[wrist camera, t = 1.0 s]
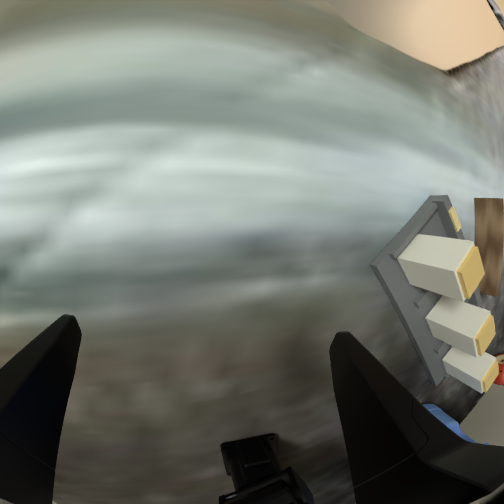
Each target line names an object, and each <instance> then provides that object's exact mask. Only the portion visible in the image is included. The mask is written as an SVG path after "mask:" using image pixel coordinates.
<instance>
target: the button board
mask: <svg viewBox="0 0 504 504" xmlns="http://www.w3.org/2000/svg"><path fill="white" fill-rule="evenodd" d="M416 234H423V235H431V236H439V237H447V238H454V239H461V240H465V239H464V236H463V233H462V230H461V224H460V222H459V219H458V216H457V214H456V211H455V208H454V207H452V204H451V202H450V199H449V197H448V195H439V196H429V198H428V199H427V200H426V201H425V202H424V204H423V205H422V206H421V207H420V208H419V210H418V211H417V212H416V213H415V214H414V216H413V217H412V218H411V219H410V220H409V221H408V223H407V224H406V225H405V226H404V227H403V228H402V229H401V231H400V232H399V233H398V234H397V235H396V236H395V237H394V238H393V240H392V241H391V242H390V243H389V244H388V245H387V246H386V247H385V248H384V249H383V251H382V252H381V253H380V254H379V255H378V256H377V257H376V258H375V259H374V260H373V261H372V262H371V263H370V266H371V268H372V269H373V271H374V273H375V274H376V276H377V278H378V279H379V281H380V283H381V285H382V286H383V288H384V290H385V292H386V294H387V295H388V297H389V299H390V301H391V303H392V304H393V306H394V308H395V310H396V312H397V314H398V315H399V317H400V319H401V321H402V323H403V325H404V327H405V329H406V331H407V333H408V335H409V337H410V339H411V341H412V343H413V345H414V347H415V349H416V351H417V353H418V355H419V357H420V359H421V361H422V363H423V366H424V368H425V370H426V372H427V374H428V377H429V379H430V381H431V383H432V384H433V385H434V386H436V387H437V386H438V385H439V383H440V382H441V381H442V380H443V379H444V377H445V378H446V379H449V377H450V376H451V375H450V374H448V373H447V372H446V369H445V367H444V364H443V361H442V359H443V358H444V357H445V355H446V354H447V353H448V351H449V350H450V349H451V347H452V346H451V345H449V344H447V343H445V342H443V341H441V340H439V339H437V338H435V337H433V335H432V333H431V330H430V328H429V325H428V323H427V321H426V316H427V315H428V314H429V313H430V311H431V310H432V309H433V307H434V306H435V305H436V303H437V302H438V301H439V300H440V298H441V297H442V295H441V294H438V293H435V292H432V291H429V290H426V289H423V288H420V287H417V286H414V285H411V284H410V283H409V281H408V279H407V277H406V275H405V273H404V271H403V269H402V267H401V265H400V263H399V261H398V259H397V257H398V256H399V254H400V253H401V252H402V251H403V250H404V249H405V248H406V246H407V245H408V244H409V243H410V242H411V240H412V239H413V238H414V237H415V236H416ZM478 285H479V284H478ZM464 302H465V303H468V304H471V305H474V306H477V307H480V308H483V305H482V300H481V296H480V291H479V287H478V286H477V288H476V289H475V291H474V292H473V294H472V296H471V297H470V299H467V298H466V299H465V301H464Z"/></svg>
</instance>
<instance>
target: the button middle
mask: <svg viewBox="0 0 504 504" xmlns="http://www.w3.org/2000/svg"><path fill="white" fill-rule="evenodd" d="M426 321H427V323H428V325H429V328H430V330H431V333H432V335H433V337H435V338H437V339H439V340H441V341H443V342H445V343H447V344H449V345H451V346H453V347H455V348H457V349H460V350H462V351H464V352H466V353H468V354H470V355H472V356H474V357H476V358H477V357H478V355H480V356H482V355H483V353H484V352H485V350H486V349H487V347H488V345H489V344H490V342H491V341H492V339H493V337H494V336H495V334H496V333H495V325H494V318H493V316H491V313H490V311H488V310H486V309H483V308H480V307H477V306H474V305H471V304H468V303H465V302H462V301H459V300H456V299H453V298H450V297H447V296H444V295H442V297H441V298H440V300H439V301H438V302H437V303H436V305H435V306H434V307H433V309H432V310H431V311H430V313H429V314H428V315H427V316H426Z"/></svg>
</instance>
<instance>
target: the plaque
mask: <svg viewBox="0 0 504 504" xmlns="http://www.w3.org/2000/svg"><path fill="white" fill-rule="evenodd" d="M474 199H475V246H477V247H478V249H479V253H480V256H481V260H482V264H483V268H484V272H485V274H484V276H483V278H482V279H481V281H480V283H479V285H478V287H479V291H480V292H481V293H484V294H487V295H491V296H494V297H496V296H498V295H499V288H500V280H501V270H502V258H503V239H504V205H503V199H500V198H474Z"/></svg>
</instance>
